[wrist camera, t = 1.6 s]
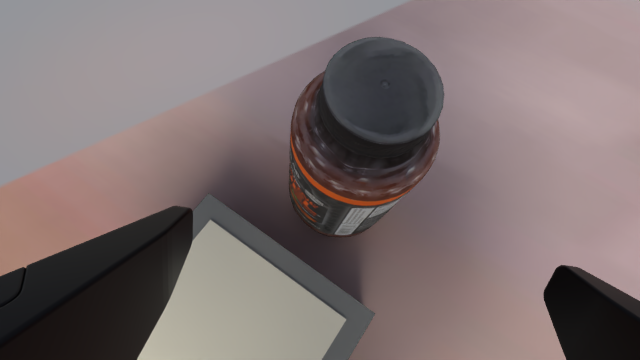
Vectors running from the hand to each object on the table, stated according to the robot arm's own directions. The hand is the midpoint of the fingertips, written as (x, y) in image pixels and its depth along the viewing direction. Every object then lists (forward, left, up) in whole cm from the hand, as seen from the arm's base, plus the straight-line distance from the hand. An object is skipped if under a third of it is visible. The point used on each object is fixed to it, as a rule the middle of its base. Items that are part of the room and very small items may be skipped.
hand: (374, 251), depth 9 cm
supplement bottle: (+5, +2, -12) cm, 14 cm away
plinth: (-5, +2, -12) cm, 13 cm away
